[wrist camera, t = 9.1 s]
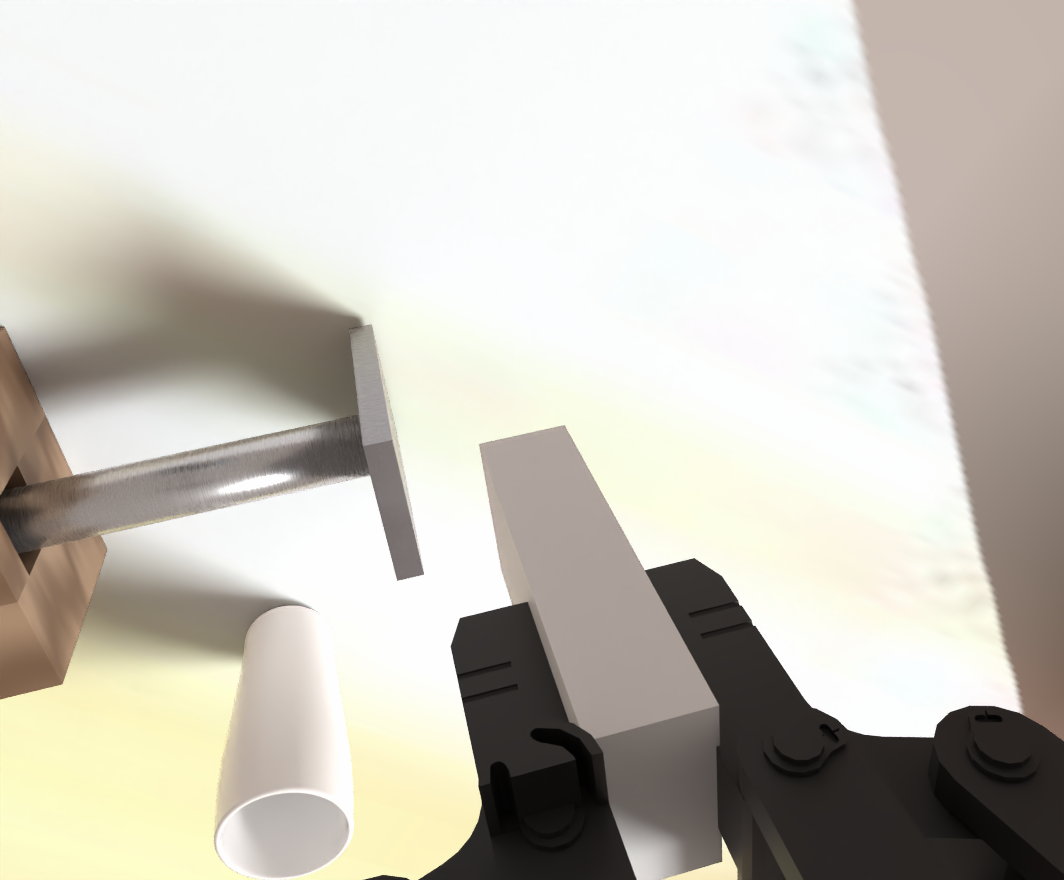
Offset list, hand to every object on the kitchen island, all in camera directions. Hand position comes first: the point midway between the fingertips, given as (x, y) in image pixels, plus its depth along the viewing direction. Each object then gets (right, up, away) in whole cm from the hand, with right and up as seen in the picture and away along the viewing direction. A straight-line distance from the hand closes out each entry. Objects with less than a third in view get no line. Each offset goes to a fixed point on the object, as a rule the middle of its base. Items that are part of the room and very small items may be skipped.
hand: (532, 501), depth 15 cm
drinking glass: (-15, -11, +40) cm, 45 cm away
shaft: (-20, +2, +31) cm, 37 cm away
